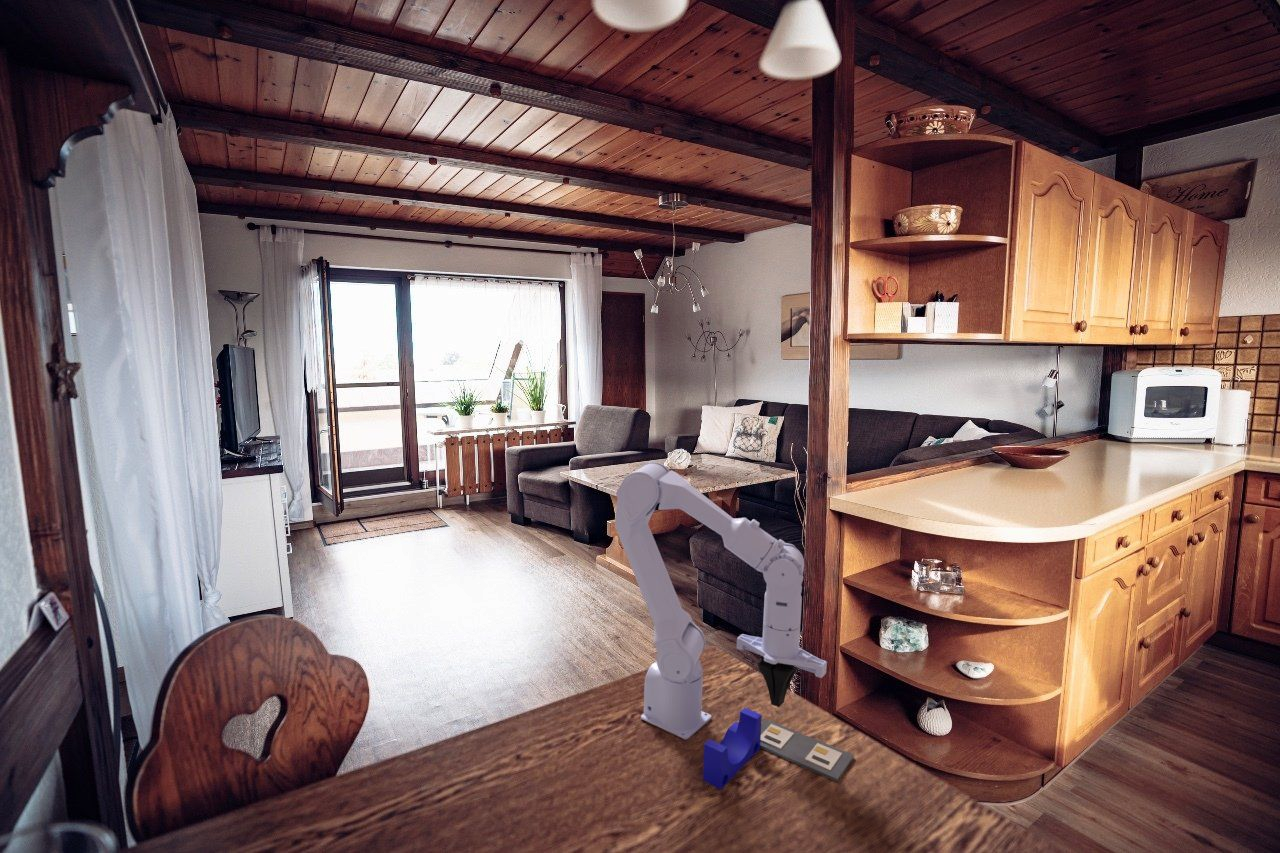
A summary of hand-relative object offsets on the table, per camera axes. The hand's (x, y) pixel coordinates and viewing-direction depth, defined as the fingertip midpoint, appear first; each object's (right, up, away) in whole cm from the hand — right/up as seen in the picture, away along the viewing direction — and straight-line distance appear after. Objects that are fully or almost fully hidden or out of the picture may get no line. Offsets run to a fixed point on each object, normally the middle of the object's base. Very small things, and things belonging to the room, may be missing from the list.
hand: (777, 703), depth 102 cm
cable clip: (-9, -7, -5) cm, 12 cm away
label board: (+3, -7, -2) cm, 8 cm away
